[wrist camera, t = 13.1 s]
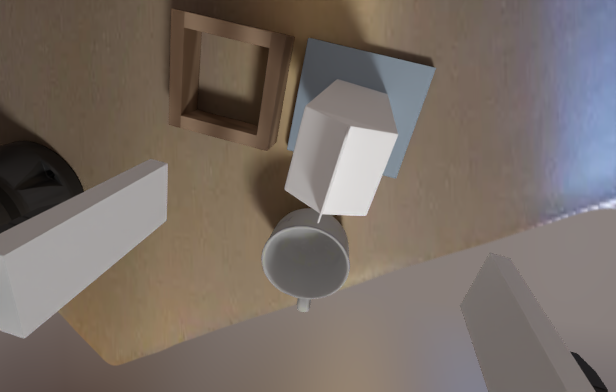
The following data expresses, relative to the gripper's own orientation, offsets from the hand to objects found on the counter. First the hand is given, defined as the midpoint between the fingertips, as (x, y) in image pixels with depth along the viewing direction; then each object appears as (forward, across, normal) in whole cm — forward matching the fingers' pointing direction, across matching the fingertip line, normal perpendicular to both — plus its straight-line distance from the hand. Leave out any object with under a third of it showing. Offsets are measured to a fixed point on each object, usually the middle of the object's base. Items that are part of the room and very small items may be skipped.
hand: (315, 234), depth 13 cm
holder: (+29, -15, 0) cm, 32 cm away
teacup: (+29, -1, -20) cm, 35 cm away
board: (+29, 0, 0) cm, 29 cm away
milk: (+28, 0, 0) cm, 28 cm away
